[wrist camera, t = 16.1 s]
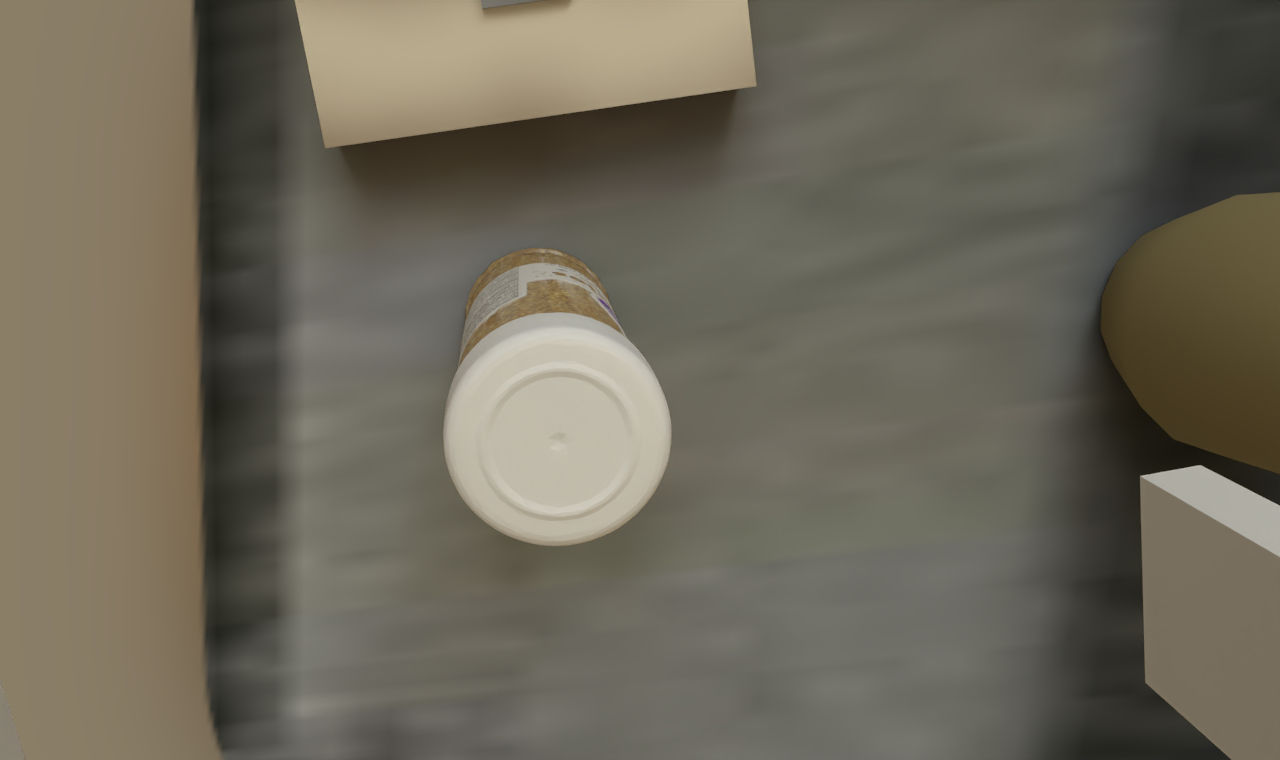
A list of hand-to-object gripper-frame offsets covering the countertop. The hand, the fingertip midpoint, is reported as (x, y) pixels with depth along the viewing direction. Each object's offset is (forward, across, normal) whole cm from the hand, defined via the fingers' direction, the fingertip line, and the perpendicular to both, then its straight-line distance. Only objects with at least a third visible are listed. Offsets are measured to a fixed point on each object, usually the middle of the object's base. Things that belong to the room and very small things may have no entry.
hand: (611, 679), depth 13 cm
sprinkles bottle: (+23, 0, 0) cm, 23 cm away
